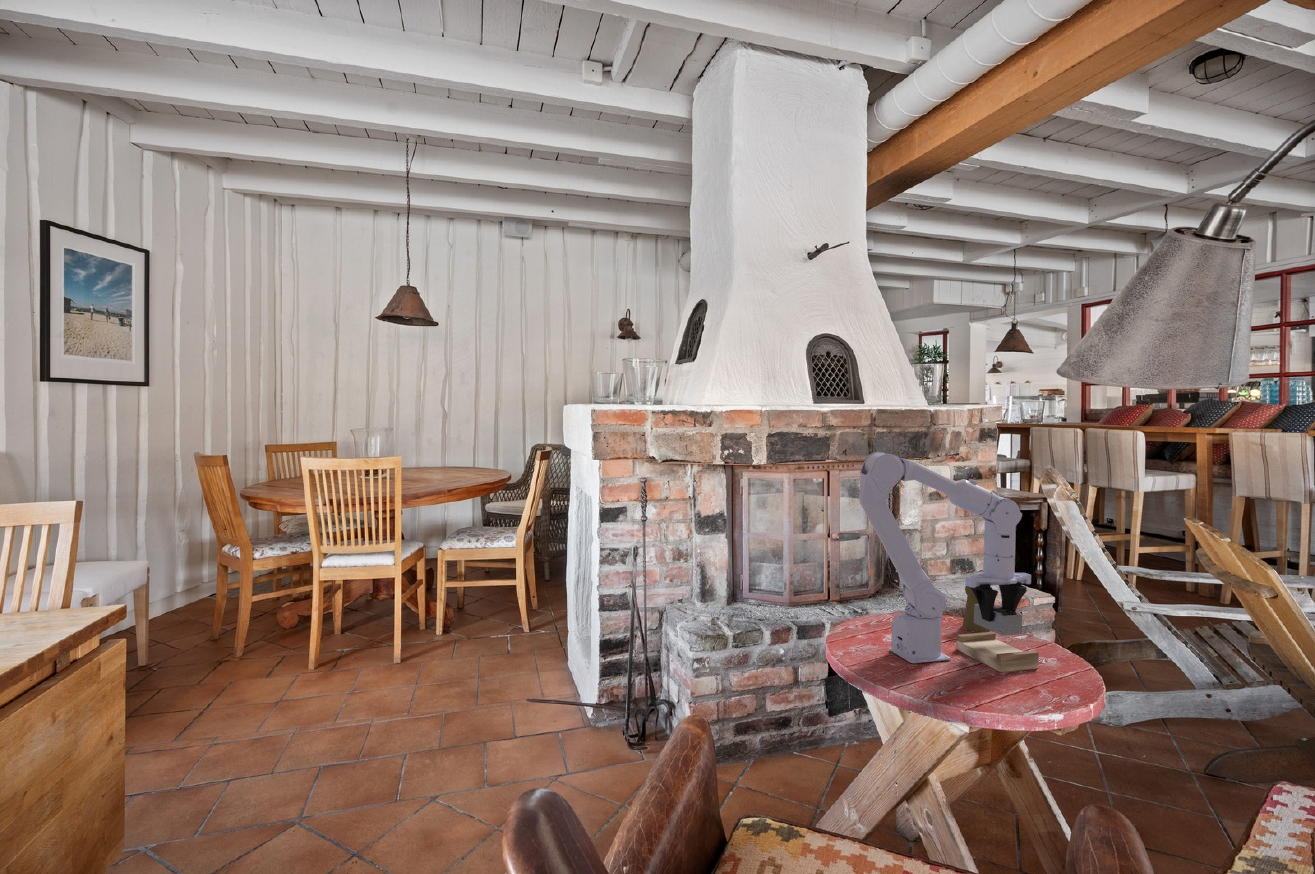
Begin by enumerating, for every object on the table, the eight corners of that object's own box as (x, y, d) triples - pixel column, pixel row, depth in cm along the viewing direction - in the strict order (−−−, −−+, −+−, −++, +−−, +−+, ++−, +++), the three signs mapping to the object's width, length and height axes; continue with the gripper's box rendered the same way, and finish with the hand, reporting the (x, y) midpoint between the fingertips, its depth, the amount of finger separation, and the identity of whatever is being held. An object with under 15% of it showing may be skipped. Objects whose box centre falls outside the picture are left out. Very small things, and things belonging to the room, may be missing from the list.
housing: (973, 622, 133) (974, 602, 132) (991, 621, 134) (992, 601, 134) (1002, 635, 125) (1003, 614, 125) (1021, 633, 126) (1022, 612, 126)
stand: (1038, 668, 125) (1038, 652, 125) (1000, 672, 123) (1001, 656, 123) (991, 646, 137) (991, 631, 137) (956, 649, 135) (956, 634, 135)
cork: (995, 632, 146) (996, 586, 145) (969, 632, 146) (970, 586, 145) (982, 624, 152) (983, 579, 151) (957, 623, 152) (958, 579, 151)
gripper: (984, 560, 123) (982, 627, 124) (1044, 557, 127) (1042, 622, 127) (958, 552, 130) (957, 616, 130) (1016, 549, 133) (1014, 612, 134)
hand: (997, 619), depth 129 cm, fingers closed on housing, 5 cm apart
